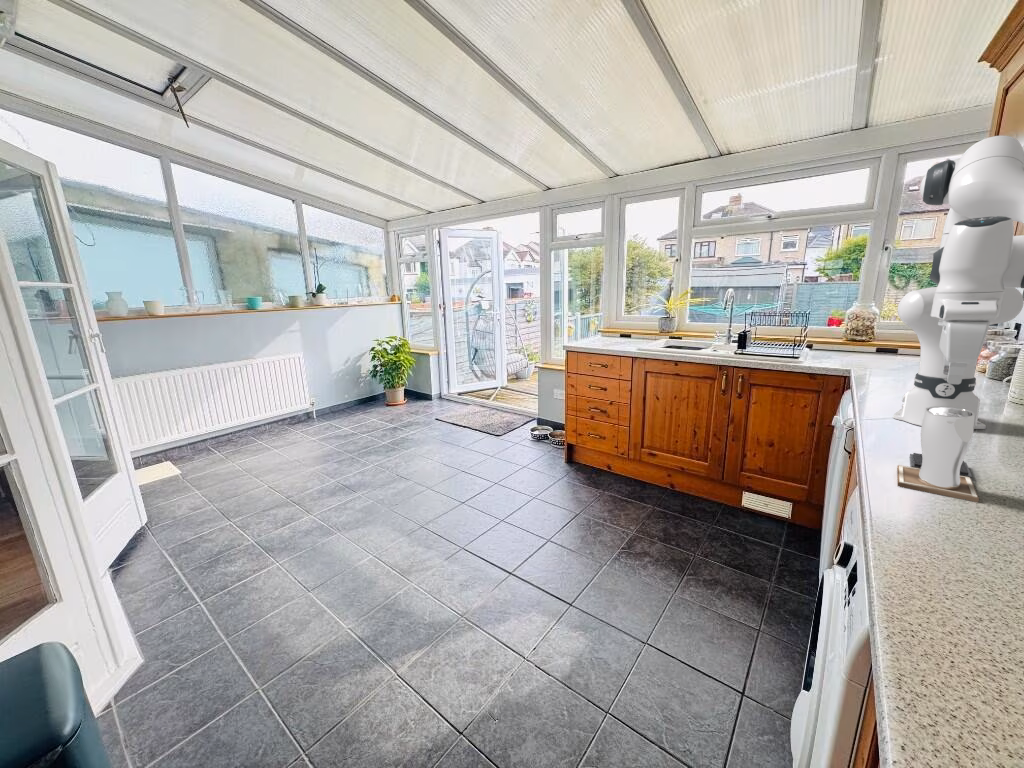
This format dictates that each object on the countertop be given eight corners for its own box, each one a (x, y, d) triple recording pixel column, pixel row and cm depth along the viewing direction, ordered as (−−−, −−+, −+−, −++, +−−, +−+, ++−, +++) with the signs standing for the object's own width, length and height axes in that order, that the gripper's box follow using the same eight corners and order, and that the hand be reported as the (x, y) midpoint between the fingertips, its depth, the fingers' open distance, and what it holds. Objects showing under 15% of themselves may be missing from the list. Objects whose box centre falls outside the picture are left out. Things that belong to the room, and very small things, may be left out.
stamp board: (897, 468, 92) (897, 464, 91) (970, 481, 84) (970, 477, 84) (897, 486, 84) (898, 481, 84) (978, 502, 76) (979, 497, 76)
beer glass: (974, 490, 79) (987, 417, 75) (930, 490, 80) (941, 418, 77) (945, 474, 85) (956, 405, 82) (905, 473, 87) (915, 406, 83)
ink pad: (909, 457, 97) (910, 451, 97) (965, 466, 91) (966, 460, 91) (910, 470, 91) (911, 463, 90) (971, 481, 85) (972, 474, 84)
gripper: (937, 304, 87) (925, 368, 90) (945, 311, 73) (931, 387, 76) (981, 304, 83) (967, 371, 86) (999, 311, 69) (982, 391, 72)
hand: (950, 378), depth 81 cm, fingers open, 8 cm apart
